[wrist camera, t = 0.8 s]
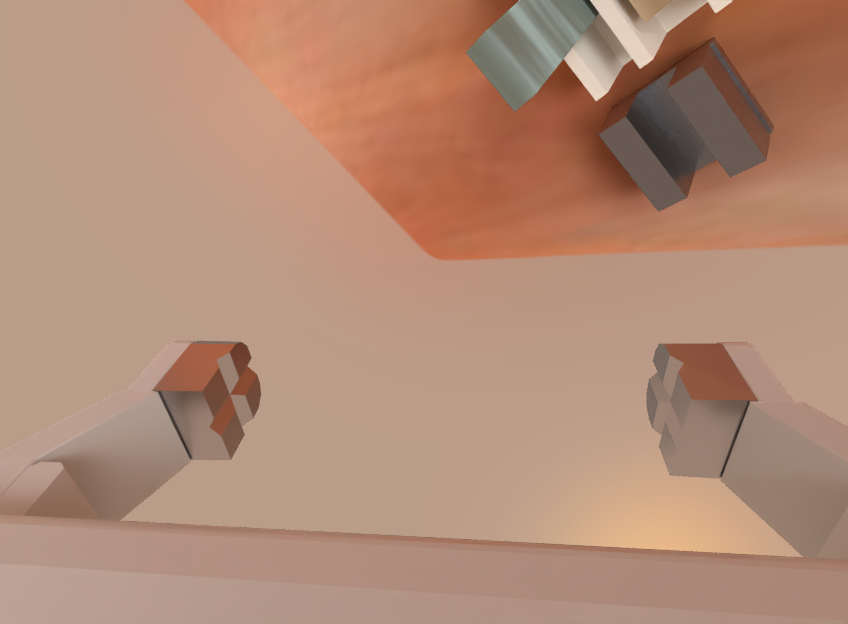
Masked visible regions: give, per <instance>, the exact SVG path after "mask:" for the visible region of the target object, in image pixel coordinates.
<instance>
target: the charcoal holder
mask: <svg viewBox="0 0 848 624" xmlns="http://www.w3.org/2000/svg"><path fill="white" fill-rule="evenodd" d="M773 127H774V126H773V125H772V123H771V122H770V120H769V119H768V117H767V116H766V114H765V113H764V111H763V110H762V108H761V107H760V105H759V104H758V102H757V101H756V99H755V98H754V96H753V95H752V93H751V92H750V90H749V89H748V87H747V86H746V84H745V83H744V81H743V80H742V78H741V77H740V75H739V74H738V72H737V71H736V69H735V68H734V66H733V65H732V63H731V62H730V60H729V59H728V57H727V56H726V54H725V53H724V51H723V50H722V48H721V47H720V45H719V44H718V42H717V41H716V39H715V38H712V39H711V40H709V41H708V42H706V43H705V44H703V45H702V46H701V47H699V48H698V49H696V50H695V51H693V52H692V53H691V54H689V55H688V56H686V57H685V58H683V59H682V60H681V61H679V62H678V63H676V64H675V65H673V66H672V67H671V68H669V69H668V70H666V71H665V72H663V73H662V74H661V75H659V76H658V77H656V78H655V79H653V80H652V81H651V82H649V83H648V84H646V85H645V86H643V87H642V88H641V89H639V90H638V91H636V92H635V93H633V94H632V95H631V96H629V97H628V98H626V99H625V100H623V101H622V102H621V103H619V104H618V105H616V106H615V107H613V108H612V110H611V111H610V115H609V117H608V119H607V120H606V122H605V124H604V126H603V128H602V129H601V131H600V133H599V136H600V138H601V139H602V140H603V141H604V143H605V144H606V145H607V147H608V148H609V149H610V150H611V152H612V153H613V154H614V156H615V157H616V158H617V159H618V161H619V162H620V163H621V165H622V166H623V167H624V168H625V170H626V171H627V172H628V173H629V175H630V176H631V177H632V179H633V180H634V181H635V182H636V184H637V185H638V186H639V188H640V189H641V190H642V191H643V193H644V194H645V195H646V196H647V198H648V199H649V200H650V202H651V203H652V204H653V205H654V207H655V208H656V209H657V211H660V210H662V209H664V208H667V207H669V206H671V205H673V204H675V203H677V202H679V201H681V200H683V199H686V198H687V196H688V193H689V190H690V186H691V183H692V179H693V176H694V173H695V171H696V170H698V169H700V168H702V167H704V166H706V165H708V164H710V163H712V162H714V161H716V160H718V161H719V163H720V164H721V165H722V167H723V168H724V170H725V171H726V172H727V174H728V175H729V177H732V176H734V175H736V174H738V173H741V172H743V171H745V170H747V169H749V168H751V167H753V166H755V165H758V164H760V163H762V162H764V161H766V160H767V153H768V146H769V139H770V133H771V132H773Z"/></svg>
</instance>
